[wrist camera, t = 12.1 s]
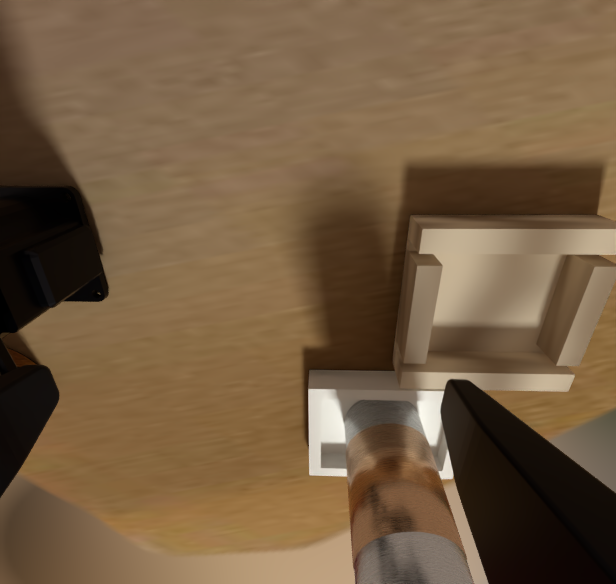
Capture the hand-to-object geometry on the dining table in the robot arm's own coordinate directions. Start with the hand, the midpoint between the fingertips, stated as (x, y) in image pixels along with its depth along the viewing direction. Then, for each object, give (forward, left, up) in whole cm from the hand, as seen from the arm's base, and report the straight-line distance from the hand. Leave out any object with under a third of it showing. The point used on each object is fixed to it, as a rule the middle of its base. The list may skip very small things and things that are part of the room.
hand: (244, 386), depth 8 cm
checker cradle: (+11, -4, -12) cm, 17 cm away
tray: (+6, -13, -12) cm, 19 cm away
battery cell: (+6, -13, -11) cm, 19 cm away
